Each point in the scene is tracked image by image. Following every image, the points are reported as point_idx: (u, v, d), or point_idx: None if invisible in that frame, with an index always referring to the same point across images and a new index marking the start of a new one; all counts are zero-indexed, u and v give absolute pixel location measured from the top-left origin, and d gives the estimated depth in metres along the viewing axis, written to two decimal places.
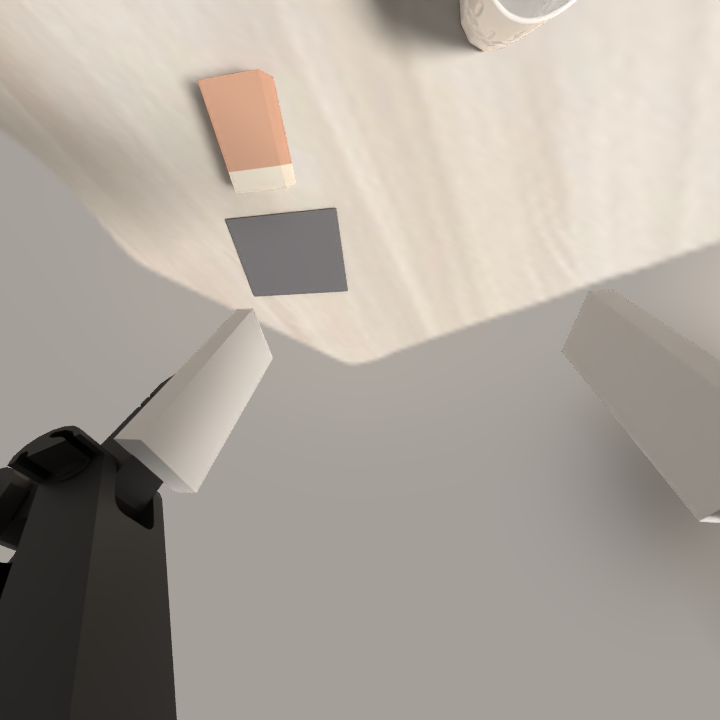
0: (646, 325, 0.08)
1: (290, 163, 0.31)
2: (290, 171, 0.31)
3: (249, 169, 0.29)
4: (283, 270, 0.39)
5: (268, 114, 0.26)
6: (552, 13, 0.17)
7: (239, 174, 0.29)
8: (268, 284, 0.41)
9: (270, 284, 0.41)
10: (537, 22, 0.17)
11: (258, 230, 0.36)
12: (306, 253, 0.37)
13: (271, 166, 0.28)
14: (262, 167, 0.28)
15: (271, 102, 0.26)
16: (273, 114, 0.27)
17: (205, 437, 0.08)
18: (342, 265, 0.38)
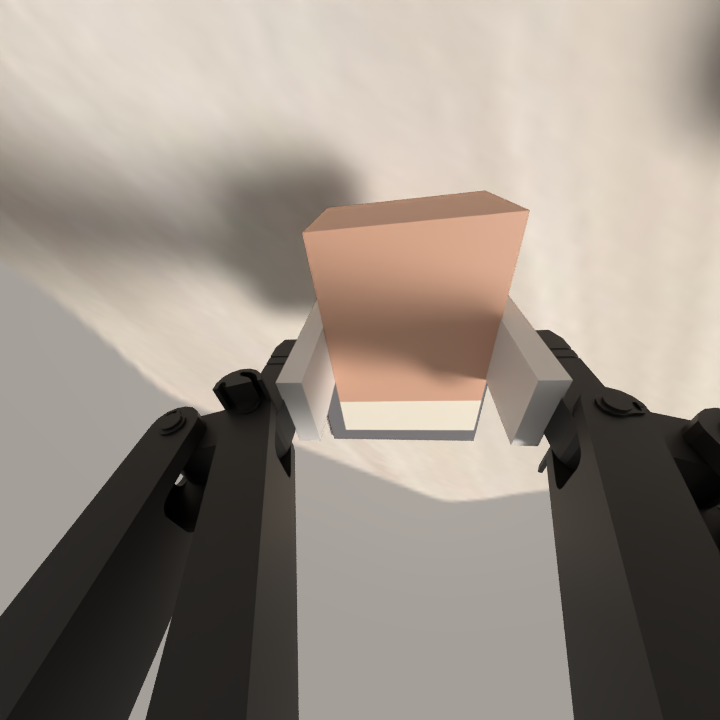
0: None
1: None
2: None
3: (395, 401, 0.11)
4: None
5: (501, 315, 0.09)
6: None
7: (367, 405, 0.12)
8: None
9: None
10: None
11: None
12: None
13: (455, 400, 0.11)
14: (429, 398, 0.11)
15: None
16: None
17: (323, 393, 0.09)
18: (477, 416, 0.26)
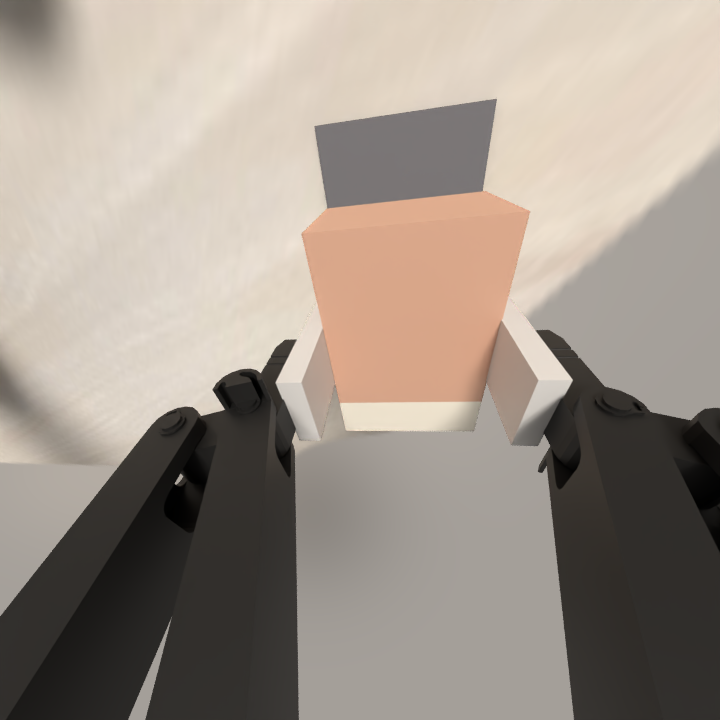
0: None
1: None
2: None
3: (395, 402, 0.11)
4: None
5: (501, 316, 0.09)
6: None
7: (367, 406, 0.12)
8: None
9: None
10: None
11: None
12: None
13: (455, 401, 0.11)
14: (429, 399, 0.11)
15: None
16: None
17: (323, 393, 0.09)
18: (428, 113, 0.16)
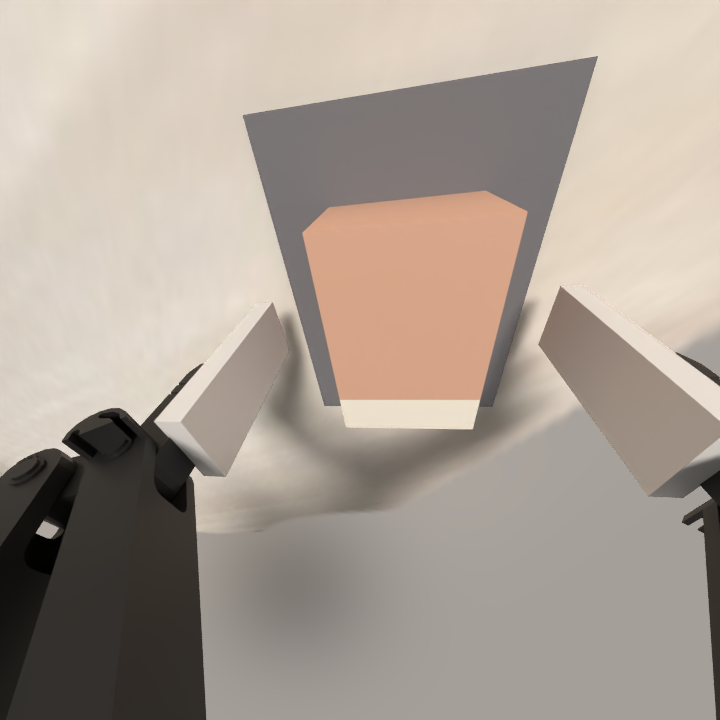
0: (608, 317, 0.08)
1: None
2: None
3: (394, 399, 0.12)
4: None
5: (500, 315, 0.09)
6: None
7: (367, 404, 0.12)
8: None
9: None
10: None
11: None
12: None
13: (454, 399, 0.11)
14: (428, 396, 0.12)
15: None
16: None
17: (233, 423, 0.09)
18: (456, 87, 0.08)
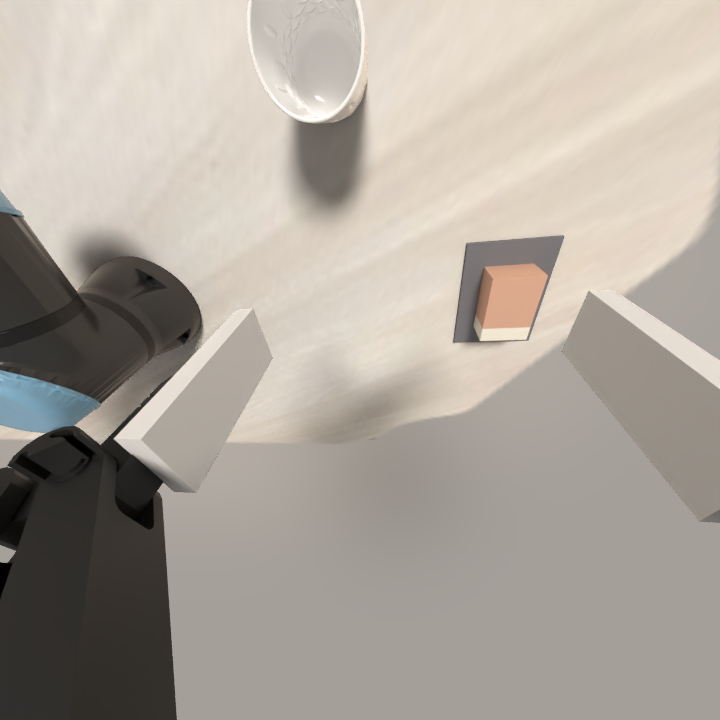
0: (646, 325, 0.08)
1: None
2: None
3: (501, 328, 0.36)
4: None
5: (539, 299, 0.33)
6: (358, 11, 0.17)
7: (491, 330, 0.36)
8: None
9: None
10: (364, 29, 0.17)
11: (468, 319, 0.40)
12: None
13: (522, 327, 0.35)
14: (513, 327, 0.35)
15: None
16: None
17: (205, 437, 0.08)
18: (528, 240, 0.32)
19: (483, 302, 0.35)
